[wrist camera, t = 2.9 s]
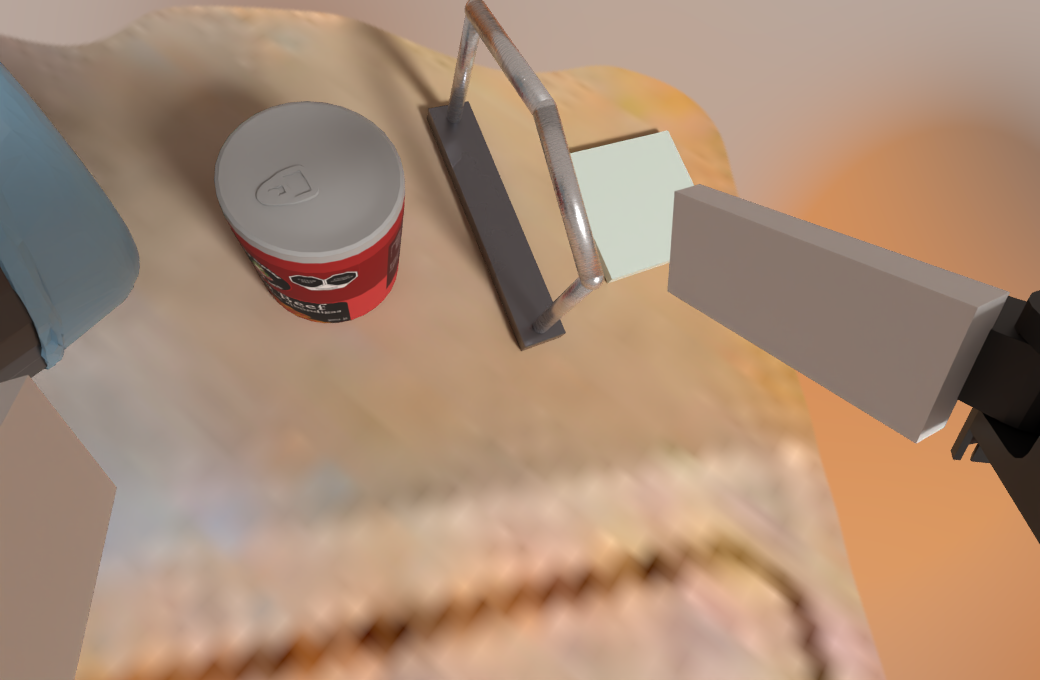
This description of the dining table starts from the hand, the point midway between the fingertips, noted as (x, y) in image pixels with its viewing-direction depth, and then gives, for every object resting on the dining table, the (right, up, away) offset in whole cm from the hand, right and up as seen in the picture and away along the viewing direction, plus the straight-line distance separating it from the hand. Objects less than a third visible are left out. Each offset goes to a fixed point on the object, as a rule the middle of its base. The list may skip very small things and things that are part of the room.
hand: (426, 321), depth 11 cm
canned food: (-10, +4, +22) cm, 25 cm away
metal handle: (0, +8, +26) cm, 27 cm away
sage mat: (+11, +10, +29) cm, 32 cm away
